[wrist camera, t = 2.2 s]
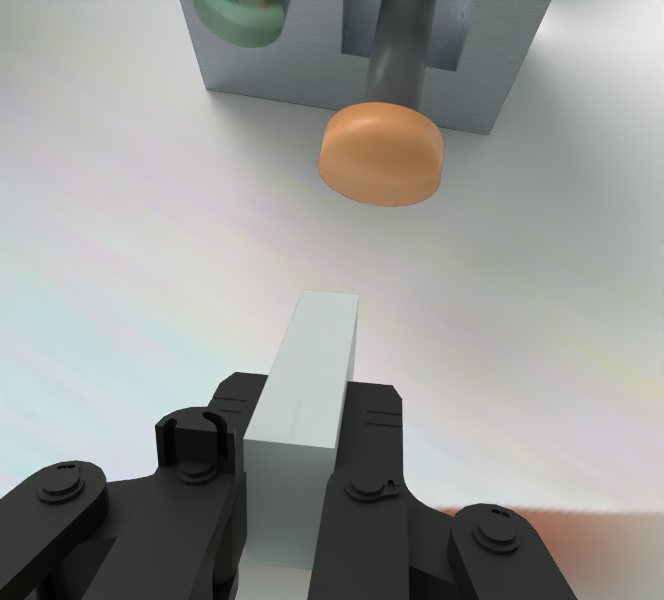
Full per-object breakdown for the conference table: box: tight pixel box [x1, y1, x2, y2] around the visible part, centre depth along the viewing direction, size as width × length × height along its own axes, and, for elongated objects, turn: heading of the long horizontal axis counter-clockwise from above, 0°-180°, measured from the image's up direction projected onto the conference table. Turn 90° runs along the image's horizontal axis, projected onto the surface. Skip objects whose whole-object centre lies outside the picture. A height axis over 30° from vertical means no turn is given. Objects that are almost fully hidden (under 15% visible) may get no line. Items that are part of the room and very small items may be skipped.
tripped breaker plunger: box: [318, 0, 444, 206], centre depth 30 cm, size 13×6×6 cm, turn 170°
